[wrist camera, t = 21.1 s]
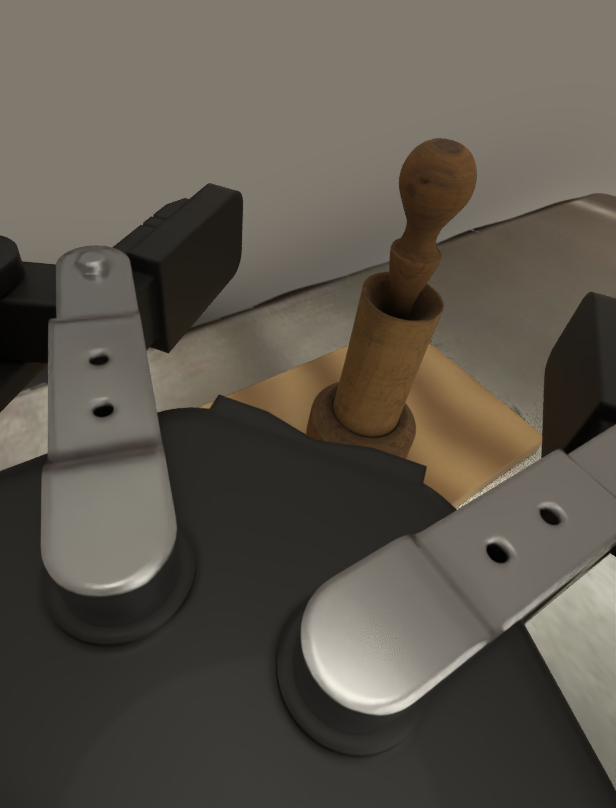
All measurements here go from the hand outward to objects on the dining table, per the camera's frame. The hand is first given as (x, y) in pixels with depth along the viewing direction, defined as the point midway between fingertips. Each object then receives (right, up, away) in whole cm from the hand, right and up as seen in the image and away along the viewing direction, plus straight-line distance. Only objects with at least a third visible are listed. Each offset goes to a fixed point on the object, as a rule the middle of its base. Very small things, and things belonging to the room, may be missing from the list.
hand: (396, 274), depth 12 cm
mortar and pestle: (+1, -6, +21) cm, 22 cm away
